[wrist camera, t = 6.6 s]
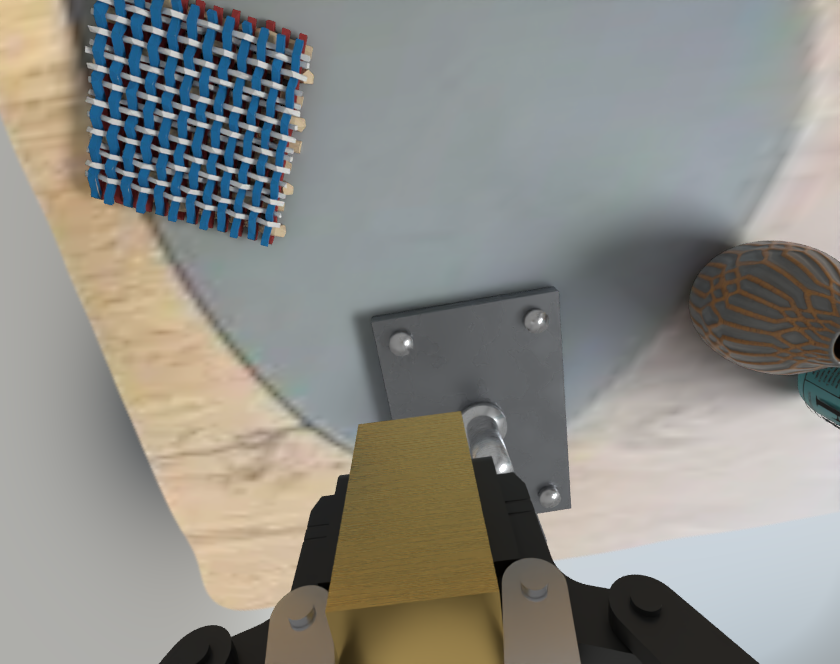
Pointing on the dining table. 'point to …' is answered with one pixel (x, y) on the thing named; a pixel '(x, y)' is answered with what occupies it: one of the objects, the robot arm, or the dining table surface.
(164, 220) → the dining table surface
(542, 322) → the toggle switch
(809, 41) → the dining table surface
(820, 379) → the beverage bottle
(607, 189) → the dining table surface
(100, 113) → the woven mat
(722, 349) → the vase
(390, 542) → the end link
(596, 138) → the dining table surface
